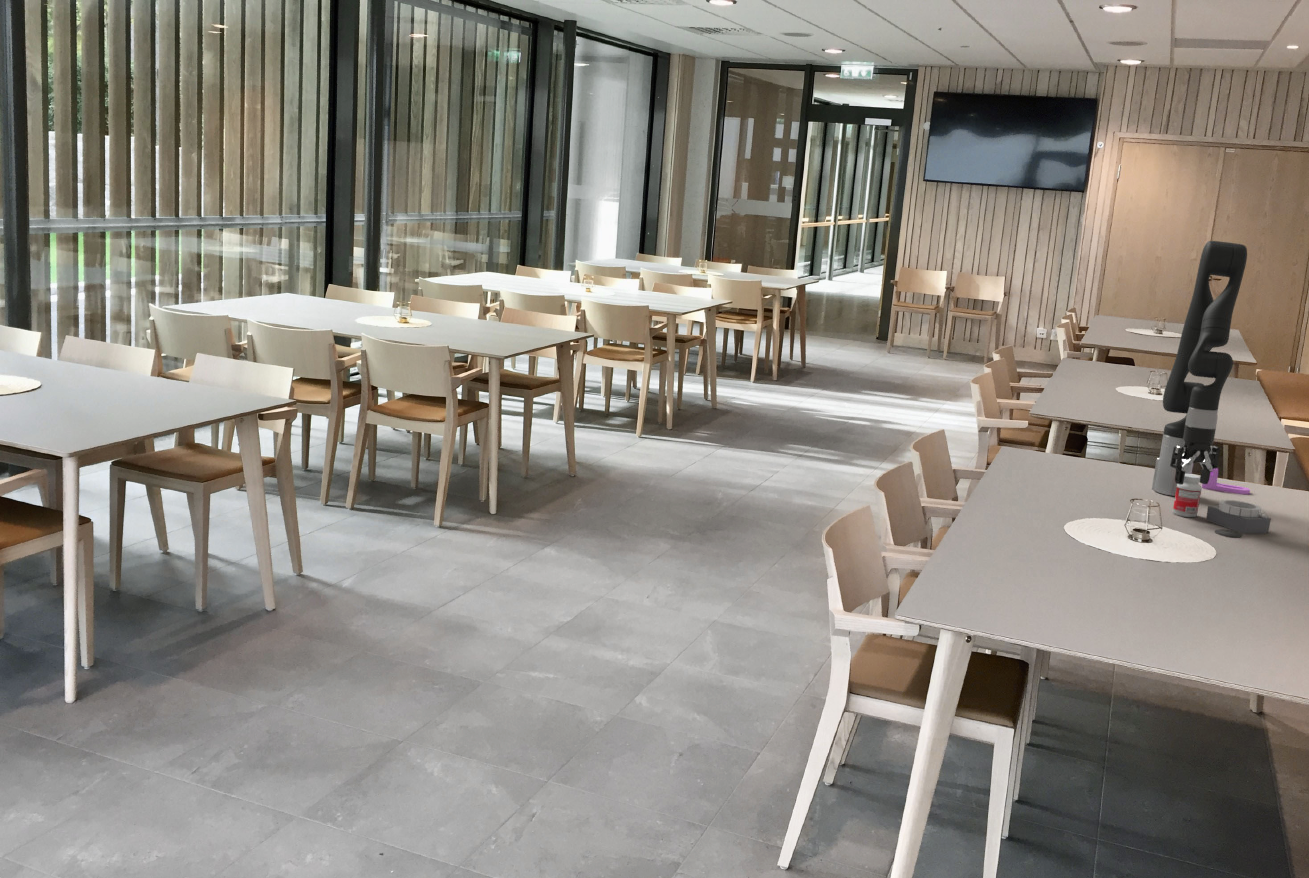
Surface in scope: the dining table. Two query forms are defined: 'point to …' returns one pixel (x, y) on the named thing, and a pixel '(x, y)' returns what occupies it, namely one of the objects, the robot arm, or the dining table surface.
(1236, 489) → the bracket
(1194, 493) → the pill bottle
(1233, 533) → the lens cap
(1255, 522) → the gray ring-topped block
